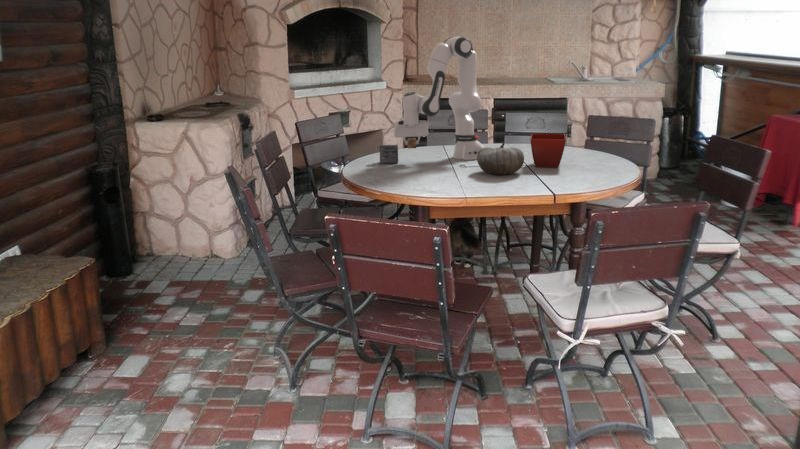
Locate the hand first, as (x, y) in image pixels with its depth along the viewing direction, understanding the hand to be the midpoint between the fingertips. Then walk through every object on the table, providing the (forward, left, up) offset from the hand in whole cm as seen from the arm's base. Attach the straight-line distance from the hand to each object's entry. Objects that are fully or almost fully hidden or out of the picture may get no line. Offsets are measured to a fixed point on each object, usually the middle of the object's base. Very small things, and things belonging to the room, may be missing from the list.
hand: (411, 144), depth 407 cm
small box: (+14, -1, -11) cm, 18 cm away
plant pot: (-76, +16, -11) cm, 79 cm away
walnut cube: (0, 0, -2) cm, 2 cm away
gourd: (-46, +34, -11) cm, 59 cm away
